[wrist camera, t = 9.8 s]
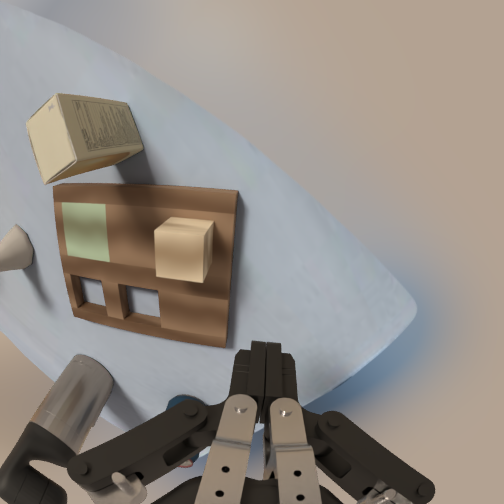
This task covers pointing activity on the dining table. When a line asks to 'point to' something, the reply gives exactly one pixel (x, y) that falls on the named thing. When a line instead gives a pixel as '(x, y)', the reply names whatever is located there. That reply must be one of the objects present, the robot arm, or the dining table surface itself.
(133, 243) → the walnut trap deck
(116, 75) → the dining table surface
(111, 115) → the skincare box
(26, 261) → the flask
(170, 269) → the birch block
